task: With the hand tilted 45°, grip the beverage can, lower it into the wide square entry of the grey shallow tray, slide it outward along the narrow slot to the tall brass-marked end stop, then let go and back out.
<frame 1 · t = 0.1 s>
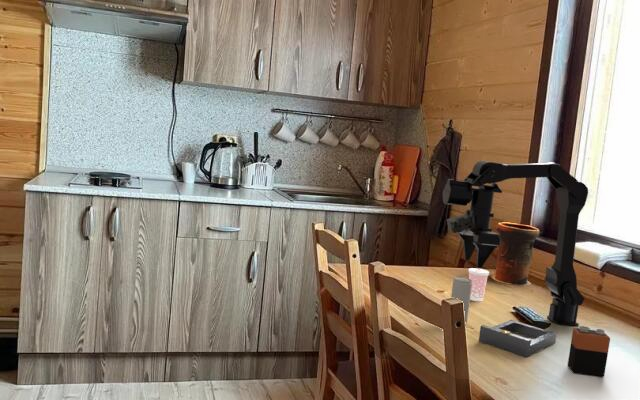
hand: (472, 264, 170), 15 cm above the table, tool pointing down, fingers open, 9 cm apart
beverage cup: (475, 299, 191), on the table
vessel: (510, 281, 222), on the table
grey shallow tray: (516, 342, 153), on the table
battery: (585, 373, 137), on the table
beverage can: (457, 324, 164), on the table
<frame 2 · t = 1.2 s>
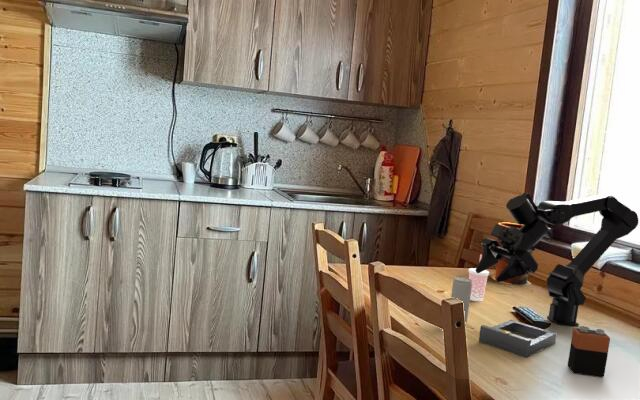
hand: (486, 276, 164), 13 cm above the table, tool tilted 45°, fingers open, 9 cm apart
nothing on the table moved.
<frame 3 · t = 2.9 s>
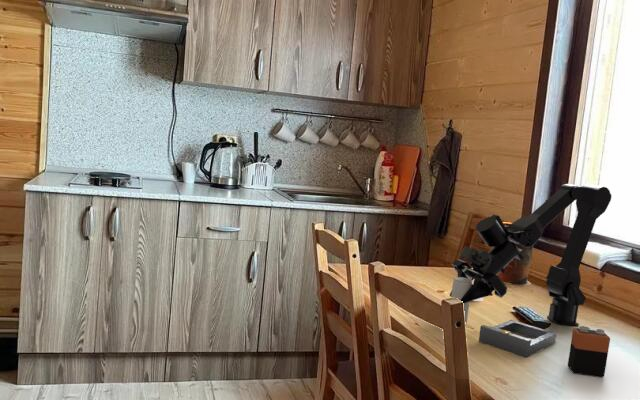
hand: (455, 299, 162), 7 cm above the table, tool tilted 45°, fingers closed on beverage can, 5 cm apart
beverage can: (457, 324, 164), on the table, touching gripper
everything else where it was.
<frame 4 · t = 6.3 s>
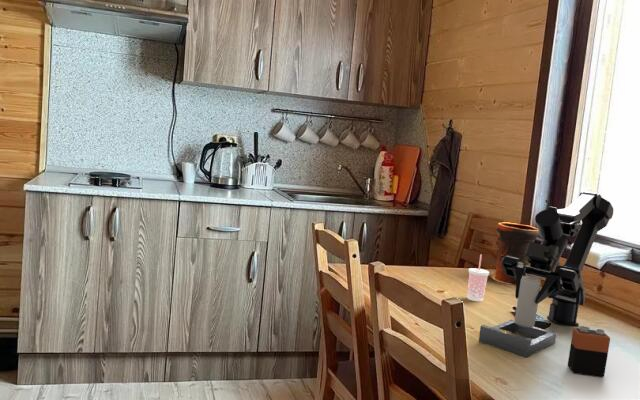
hand: (526, 300, 153), 10 cm above the table, tool tilted 45°, fingers closed on beverage can, 5 cm apart
beverage can: (524, 325, 155), point 4 cm above the table, touching gripper
everything else where it was.
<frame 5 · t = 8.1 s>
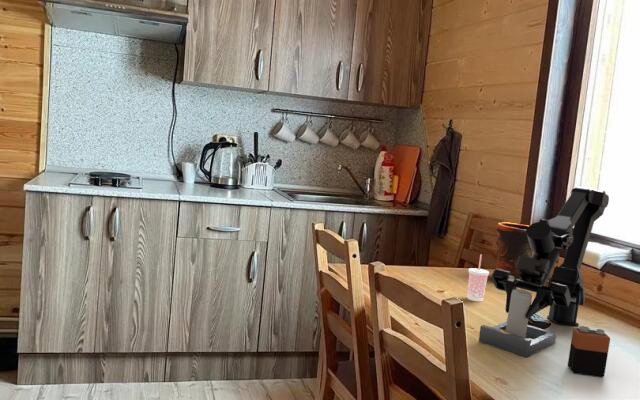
hand: (516, 314, 150), 8 cm above the table, tool tilted 45°, fingers closed on beverage can, 5 cm apart
beverage can: (514, 340, 152), point 1 cm above the table, touching gripper
everything else where it was.
when the fingers open (7 cm above the table, at t = 9.8 s): beverage can stays where it is, resting in grey shallow tray.
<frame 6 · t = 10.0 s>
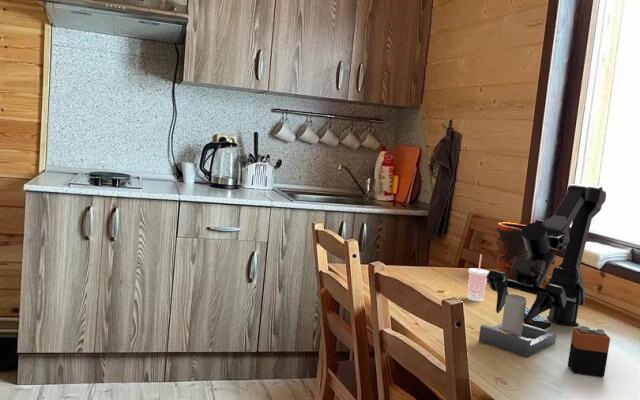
hand: (511, 316, 148), 8 cm above the table, tool tilted 45°, fingers open, 7 cm apart
beverage can: (509, 346, 150), resting in grey shallow tray
everything else where it was.
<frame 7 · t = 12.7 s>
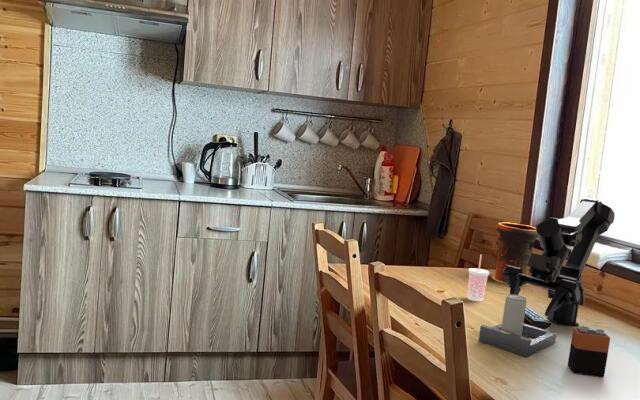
hand: (527, 310, 155), 8 cm above the table, tool tilted 45°, fingers open, 9 cm apart
nothing on the table moved.
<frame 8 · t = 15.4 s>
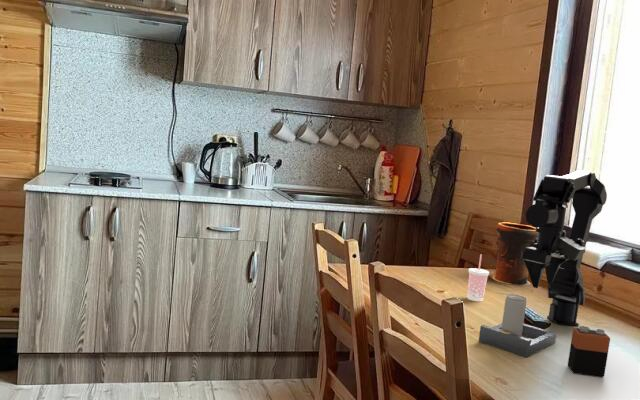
hand: (542, 285, 160), 13 cm above the table, tool pointing down, fingers open, 9 cm apart
nothing on the table moved.
at the end: beverage can 0.2 cm from the target spot, resting in grey shallow tray; beverage can tilted 0°; the gripper is holding nothing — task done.
